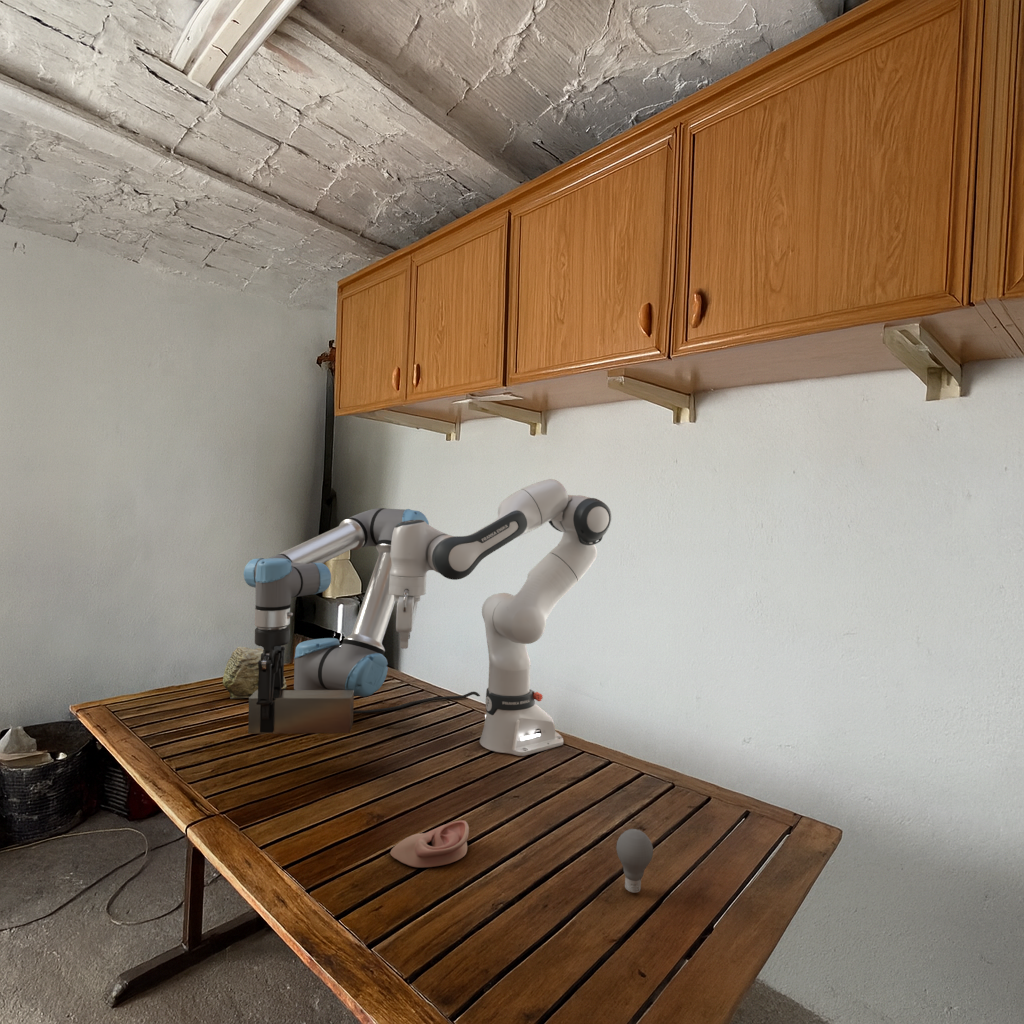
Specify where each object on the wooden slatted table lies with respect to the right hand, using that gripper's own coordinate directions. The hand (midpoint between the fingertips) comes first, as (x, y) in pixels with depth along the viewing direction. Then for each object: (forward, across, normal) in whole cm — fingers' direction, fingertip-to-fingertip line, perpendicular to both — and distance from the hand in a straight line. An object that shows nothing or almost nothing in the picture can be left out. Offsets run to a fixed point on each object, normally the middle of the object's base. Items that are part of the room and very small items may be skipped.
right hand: (405, 643), depth 154 cm
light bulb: (+28, -54, -42) cm, 74 cm away
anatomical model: (+28, -41, -8) cm, 50 cm away
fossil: (+28, +49, +48) cm, 75 cm away
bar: (+19, -6, +22) cm, 30 cm away
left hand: (+18, -6, +30) cm, 35 cm away
